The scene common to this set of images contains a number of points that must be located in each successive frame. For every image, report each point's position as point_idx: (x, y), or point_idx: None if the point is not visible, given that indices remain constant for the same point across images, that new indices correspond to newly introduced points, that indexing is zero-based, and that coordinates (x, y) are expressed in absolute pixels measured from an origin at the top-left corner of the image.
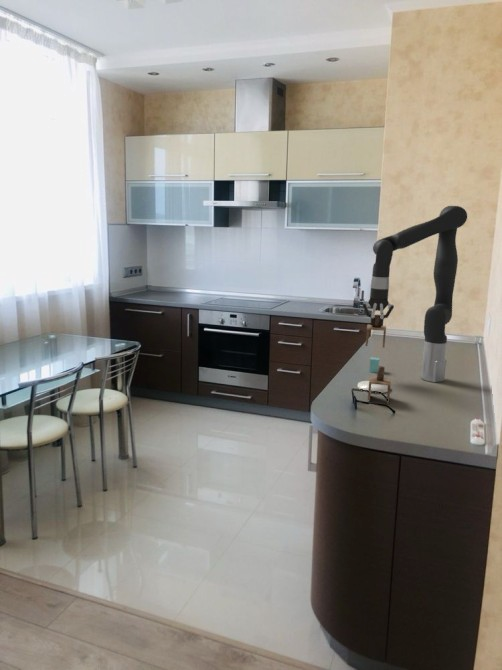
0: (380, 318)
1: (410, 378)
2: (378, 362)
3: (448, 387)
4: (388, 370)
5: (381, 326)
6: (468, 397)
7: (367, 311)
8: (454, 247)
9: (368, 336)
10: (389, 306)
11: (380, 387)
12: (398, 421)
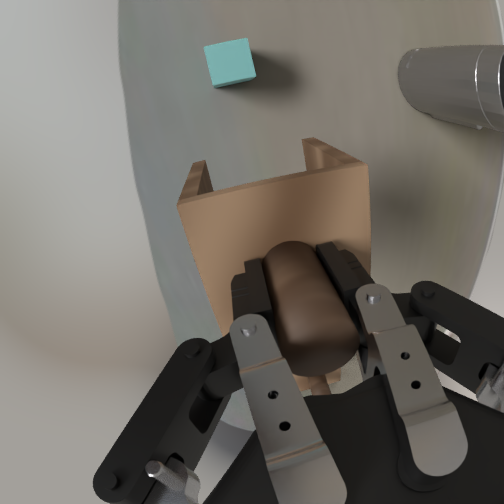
0: (347, 304)
1: (370, 97)
2: (252, 77)
3: (459, 150)
4: (279, 25)
5: (330, 220)
6: (480, 211)
7: (202, 433)
8: None
9: (203, 171)
10: (498, 405)
11: None
12: (343, 389)
